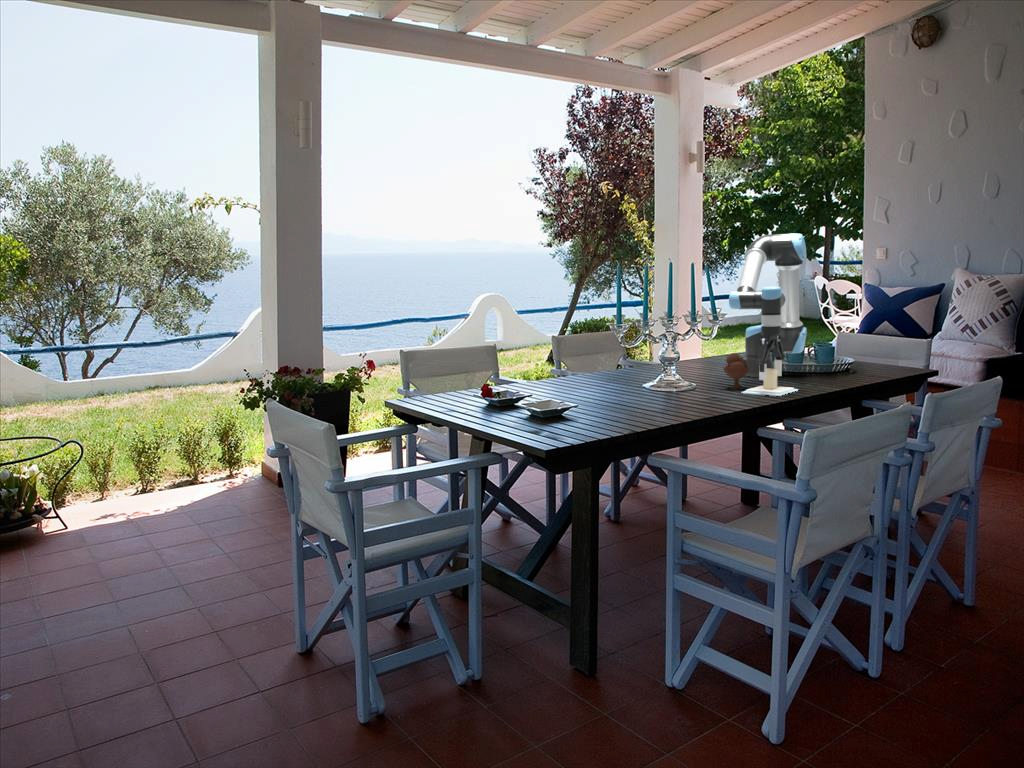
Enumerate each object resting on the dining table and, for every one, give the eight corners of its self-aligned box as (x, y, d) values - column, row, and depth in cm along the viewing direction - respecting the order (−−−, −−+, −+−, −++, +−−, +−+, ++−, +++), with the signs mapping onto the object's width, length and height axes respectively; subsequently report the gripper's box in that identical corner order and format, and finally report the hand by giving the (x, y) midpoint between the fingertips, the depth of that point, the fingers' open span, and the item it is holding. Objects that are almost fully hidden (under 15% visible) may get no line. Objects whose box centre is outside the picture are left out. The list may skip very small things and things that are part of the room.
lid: (762, 387, 353) (762, 366, 352) (794, 389, 344) (794, 368, 343) (746, 391, 343) (746, 370, 342) (778, 394, 334) (779, 372, 332)
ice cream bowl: (744, 391, 348) (744, 354, 346) (718, 389, 355) (718, 353, 353) (754, 387, 357) (754, 352, 354) (728, 386, 363) (729, 351, 361)
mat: (761, 387, 355) (761, 386, 355) (798, 390, 345) (798, 389, 345) (741, 393, 342) (741, 392, 342) (779, 396, 332) (779, 395, 331)
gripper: (776, 322, 351) (775, 373, 354) (747, 327, 333) (747, 381, 336) (793, 323, 346) (792, 374, 349) (765, 328, 328) (765, 382, 331)
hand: (770, 377), depth 343 cm, fingers open, 13 cm apart
